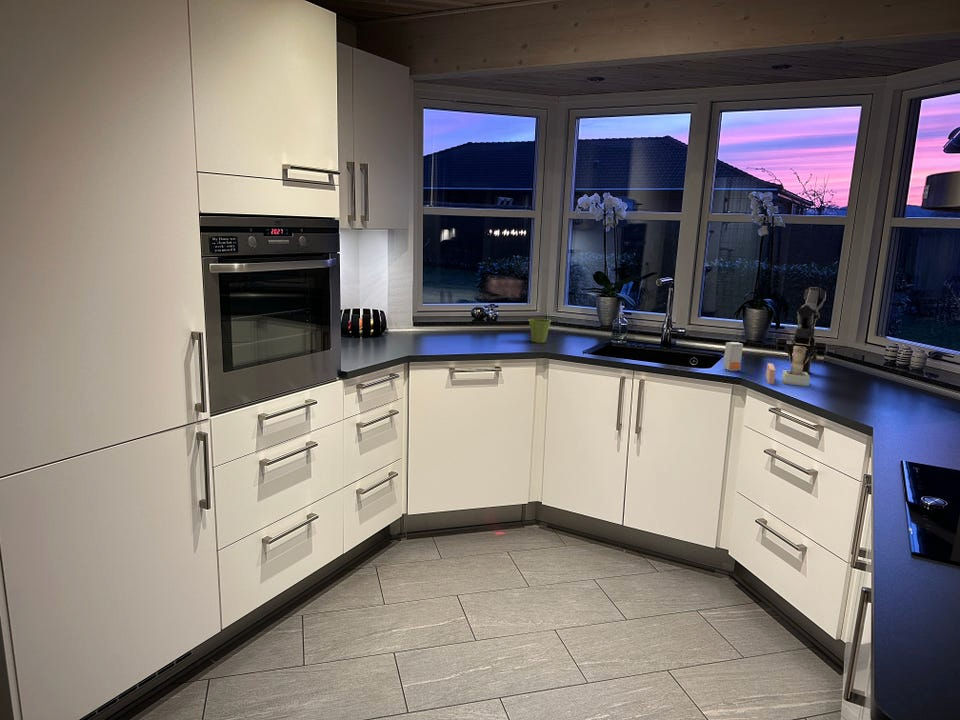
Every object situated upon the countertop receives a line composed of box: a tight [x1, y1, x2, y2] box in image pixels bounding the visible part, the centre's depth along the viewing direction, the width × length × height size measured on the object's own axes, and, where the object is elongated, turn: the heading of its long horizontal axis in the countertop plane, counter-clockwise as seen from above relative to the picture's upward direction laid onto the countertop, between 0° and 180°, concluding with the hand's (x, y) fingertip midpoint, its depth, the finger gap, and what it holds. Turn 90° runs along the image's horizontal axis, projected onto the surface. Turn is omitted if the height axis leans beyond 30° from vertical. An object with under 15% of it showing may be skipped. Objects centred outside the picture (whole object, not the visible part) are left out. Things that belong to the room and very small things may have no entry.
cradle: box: [781, 369, 811, 387], centre depth 275 cm, size 9×9×4 cm
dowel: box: [790, 346, 806, 375], centre depth 274 cm, size 4×4×13 cm
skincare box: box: [722, 341, 744, 371], centre depth 296 cm, size 6×4×12 cm
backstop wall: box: [765, 362, 777, 385], centre depth 278 cm, size 14×2×6 cm, turn 161°
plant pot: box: [527, 318, 552, 344], centre depth 346 cm, size 12×12×11 cm
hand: (797, 363), depth 272 cm, fingers closed on dowel, 4 cm apart
